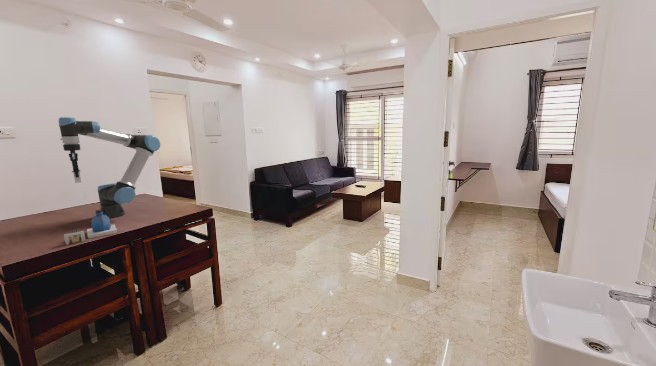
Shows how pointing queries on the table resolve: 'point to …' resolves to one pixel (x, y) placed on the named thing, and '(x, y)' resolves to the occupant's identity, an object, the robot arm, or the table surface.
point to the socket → (101, 232)
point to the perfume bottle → (100, 221)
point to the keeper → (72, 235)
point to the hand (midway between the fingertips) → (78, 182)
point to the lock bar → (75, 237)
